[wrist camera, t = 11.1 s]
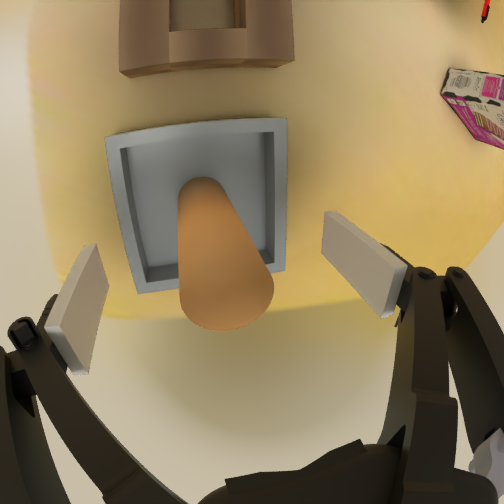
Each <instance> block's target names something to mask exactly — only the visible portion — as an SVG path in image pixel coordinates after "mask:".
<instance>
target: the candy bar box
mask: <svg viewBox="0 0 504 504" xmlns="http://www.w3.org/2000/svg"><path fill="white" fill-rule="evenodd" d="M441 95H442V96H443V98H444V99H445V100H446V101H447V102H448V103H449V105H450V106H451V107H452V108H453V110H454V111H455V112H456V113H457V115H458V116H459V117H460V119H461V120H462V121H463V123H464V124H465V125H466V127H467V128H468V129H469V131H470V132H471V134H472V135H473V137H474V138H475V140H478V141H481V142H484V143H487V144H490V145H492V146H495V147H498V148H501V149H504V75H499V74H494V73H487V72H480V71H472V70H462V69H451V68H450V69H449V71H448V74H447V77H446V80H445V82H444V85H443V88H442V92H441Z"/></svg>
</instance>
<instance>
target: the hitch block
mask: <svg viewBox="0 0 504 504" xmlns="http://www.w3.org/2000/svg"><path fill="white" fill-rule="evenodd" d="M234 24H235V28H215V29H194V30H182V31H172V32H170V0H120V18H119V71H120V72H121V73H122V74H124V75H125V76H127V77H128V78H133V77H138V76H144V75H150V74H157V73H164V72H172V71H180V70H190V69H203V68H221V67H272V68H277V67H279V66H282V65H284V64H287V63H289V62H292V61H295V60H294V37H293V18H292V3H291V0H234Z"/></svg>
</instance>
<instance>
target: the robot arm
mask: <svg viewBox="0 0 504 504" xmlns="http://www.w3.org/2000/svg"><path fill="white" fill-rule="evenodd" d="M321 253H322V254H323V255H324V256H325V257H326V259H327V260H328V261H329V262H330V263H331V264H332V265H333V266H334V267H335V268H336V269H337V270H338V271H339V272H340V274H341V275H342V276H343V277H344V278H345V279H346V280H347V281H348V282H349V283H350V284H351V286H352V287H353V288H354V289H355V290H356V291H357V292H358V293H359V294H360V296H361V297H362V298H363V299H364V300H365V301H366V302H367V303H368V304H369V306H370V307H371V308H372V309H373V310H374V311H375V312H376V314H377V315H378V316H379V317H380V318H384V317H387V316H390V315H393V313H394V310H395V306H396V304H397V305H398V306H399V307H400V308H401V310H400V313H399V316H398V318H397V321H396V324H395V327H397V325H398V333H397V343H396V353H395V361H394V370H393V377H392V383H391V390H390V396H389V402H388V407H387V412H386V417H385V422H384V426H383V430H382V433H381V436H380V438H379V440H378V442H377V444H366V445H363V443H362V442H361V440H360V439H358V440H356V441H353V442H351V443H349V444H346V445H344V446H341V447H339V448H336V449H334V450H331V451H329V452H328V453H326V454H325V455H323V456H322V457H320V458H319V459H317V460H315V461H314V462H312V463H311V464H309V465H307V466H306V467H304V468H302V469H300V470H294V471H279V472H258V473H254V474H249V475H244V476H239V477H234V478H228V479H225V482H226V485H225V486H223V487H220V488H218V489H217V490H215V491H213V492H211V493H210V494H208V495H207V496H205V497H204V498H203V499H202V500H201V501H200V502H199V503H198V504H498V499H499V498H500V497H501V496H502V495H503V494H504V334H503V332H502V330H501V328H500V326H499V324H498V322H497V321H496V319H495V317H494V315H493V313H492V312H491V310H490V308H489V307H488V305H487V303H486V302H485V300H484V298H483V297H482V295H481V293H480V292H479V290H478V289H477V287H476V286H475V284H474V282H473V281H472V279H471V278H470V276H469V275H468V274H467V273H466V271H464V270H463V269H462V268H459V267H449V268H448V269H447V272H446V275H445V276H437V275H436V273H435V272H434V271H432V270H430V269H428V268H425V267H416V268H415V267H413V266H412V265H411V264H410V263H408V262H407V261H406V260H405V259H403V258H402V257H400V255H398V254H397V253H395V251H393V250H392V249H391V248H389V247H388V246H385V245H383V244H381V243H379V242H377V241H376V240H375V239H373V238H372V237H371V236H369V235H368V234H367V233H365V232H364V231H363V230H361V229H360V228H359V227H357V226H356V225H355V224H353V223H352V222H350V221H349V220H348V219H346V218H345V217H344V216H342V215H341V214H339V213H338V212H337V211H329V212H325V213H324V226H323V238H322V249H321ZM108 288H109V284H108V281H107V278H106V275H105V271H104V268H103V265H102V262H101V259H100V255H99V252H98V248H97V245H96V244H91V245H86V246H84V247H83V249H82V250H81V252H80V254H79V256H78V258H77V259H76V261H75V263H74V265H73V267H72V269H71V271H70V272H69V274H68V276H67V278H66V280H65V282H64V284H63V286H62V288H61V290H60V292H59V294H55V295H53V296H52V297H51V299H50V300H49V301H48V302H47V304H46V306H45V308H44V309H45V310H44V311H43V313H42V316H41V317H40V319H39V322H38V323H37V326H36V325H35V324H34V322H33V320H32V319H31V318H30V317H21V318H19V319H17V320H16V321H15V322H13V323H12V325H11V326H10V327H9V329H8V337H9V339H10V340H11V342H12V343H13V345H14V346H15V348H16V349H17V350H15V351H12V352H10V353H6V352H5V350H4V348H3V347H1V346H0V504H71V503H70V501H69V499H68V496H67V494H66V492H65V490H64V487H63V485H62V482H61V480H60V478H59V475H58V472H57V470H56V467H55V464H54V461H53V459H52V456H51V453H50V450H49V446H48V443H47V440H46V436H45V433H44V429H43V426H42V422H41V418H40V414H39V409H38V405H37V401H36V395H37V396H38V398H39V400H40V402H41V403H42V405H43V407H44V409H45V411H46V413H47V414H48V416H49V418H50V420H51V422H52V423H53V425H54V427H55V428H56V430H57V431H58V433H59V435H60V436H61V438H62V440H63V441H64V443H65V444H66V446H67V447H68V448H69V450H70V451H71V453H72V454H73V456H74V457H75V459H76V460H77V462H78V463H79V464H80V466H81V467H82V468H83V470H84V471H85V472H86V474H87V475H88V476H89V477H90V479H91V480H92V481H93V482H94V483H95V485H96V486H97V487H98V488H99V490H100V491H101V492H102V494H103V497H102V498H103V500H104V502H105V503H106V504H188V503H187V502H185V501H184V500H183V499H181V498H180V497H179V496H178V495H176V494H175V493H174V492H172V491H171V490H170V489H169V488H167V487H166V486H165V485H164V484H163V483H162V482H160V481H159V480H158V479H157V478H156V477H155V476H154V475H153V474H151V473H150V472H149V471H148V470H147V469H146V468H145V467H144V466H143V465H141V463H139V461H138V460H137V459H135V458H134V456H133V455H132V454H130V453H129V451H128V450H127V449H126V448H125V447H124V446H123V445H122V444H121V443H120V442H119V441H118V440H117V438H116V437H115V436H114V435H113V434H112V433H111V432H110V431H109V429H108V428H107V427H106V426H105V425H104V424H103V423H102V421H101V420H100V419H99V418H98V416H97V415H96V414H95V413H94V411H93V410H92V409H91V408H90V406H89V405H88V404H87V402H86V401H85V400H84V398H83V397H82V396H81V395H80V393H79V392H78V390H77V389H76V387H75V386H74V385H73V383H72V382H71V380H70V379H69V377H68V376H67V374H66V371H67V367H69V369H70V370H71V372H72V373H73V375H86V374H87V375H88V374H89V369H90V363H91V358H92V353H93V348H94V343H95V339H96V335H97V330H98V326H99V322H100V318H101V314H102V310H103V306H104V302H105V299H106V295H107V292H108ZM457 307H458V310H457V312H456V309H457ZM448 361H449V364H450V368H451V371H452V374H453V378H454V381H455V385H456V388H457V392H458V396H459V400H460V404H461V408H462V413H463V417H464V422H465V427H466V432H467V436H468V440H469V443H470V446H471V449H472V452H473V454H474V459H473V460H472V461H471V462H470V464H469V471H470V472H468V471H464V470H460V469H457V468H454V463H455V454H456V442H457V426H458V403H457V400H456V398H451V397H450V396H449V367H448Z"/></svg>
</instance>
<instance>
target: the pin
mask: <svg viewBox="0 0 504 504" xmlns="http://www.w3.org/2000/svg"><path fill="white" fill-rule="evenodd" d="M178 270H179V293H180V303H181V307H182V309H183V311H184V313H185V314H186V316H187V317H188V318H189V319H190V320H191V321H192V322H193V323H195V324H196V325H199V326H200V327H203V328H205V329H209V330H214V331H229V330H235V329H238V328H241V327H244V326H246V325H248V324H250V323H252V322H253V321H255V320H256V319H258V318H259V317H260V316H261V315H262V314H263V313H264V312H265V311H266V309H267V308H268V306H269V304H270V303H271V300H272V297H273V293H274V283H273V279H272V276H271V274H270V272H269V270H268V268H267V267H266V265H265V263H264V261H263V259H262V258H261V256H260V254H259V252H258V250H257V248H256V247H255V245H254V243H253V241H252V239H251V238H250V236H249V234H248V232H247V230H246V228H245V227H244V225H243V223H242V221H241V219H240V218H239V216H238V214H237V212H236V210H235V209H234V207H233V205H232V203H231V201H230V199H229V198H228V196H227V194H226V192H225V190H224V189H223V187H222V186H221V184H220V183H219V182H218V181H216V180H214V179H212V178H210V177H196V178H193V179H191V180H189V181H188V182H186V183H185V184H184V185H183V187H182V188H181V190H180V192H179V195H178Z"/></svg>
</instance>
